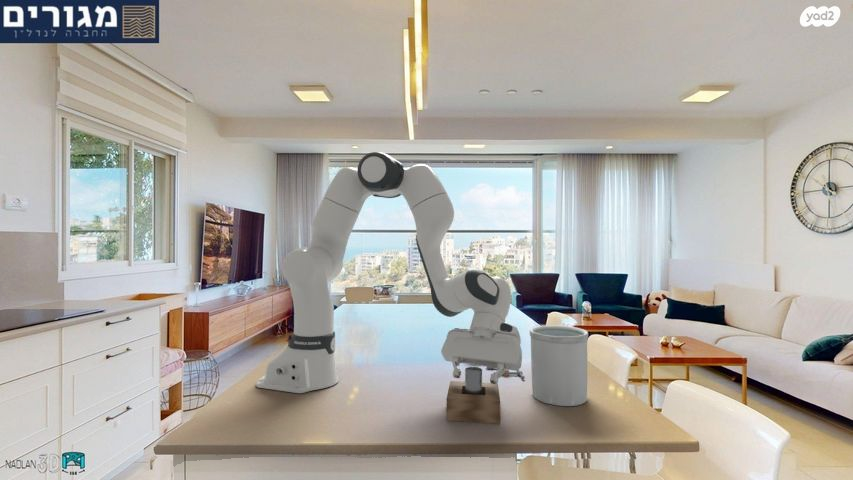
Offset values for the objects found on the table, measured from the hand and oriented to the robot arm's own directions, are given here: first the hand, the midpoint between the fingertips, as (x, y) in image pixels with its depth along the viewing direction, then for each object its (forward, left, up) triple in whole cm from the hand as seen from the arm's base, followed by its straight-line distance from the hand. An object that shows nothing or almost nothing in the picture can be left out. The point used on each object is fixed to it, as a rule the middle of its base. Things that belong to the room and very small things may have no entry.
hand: (474, 379), depth 98 cm
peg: (0, 0, -7) cm, 7 cm away
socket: (0, 0, -7) cm, 7 cm away
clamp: (+9, +32, -8) cm, 34 cm away
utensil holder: (+22, +13, -8) cm, 26 cm away
